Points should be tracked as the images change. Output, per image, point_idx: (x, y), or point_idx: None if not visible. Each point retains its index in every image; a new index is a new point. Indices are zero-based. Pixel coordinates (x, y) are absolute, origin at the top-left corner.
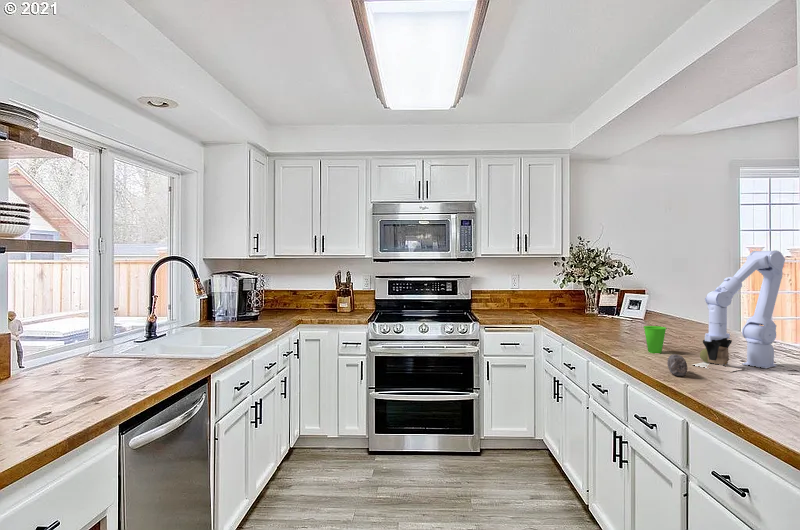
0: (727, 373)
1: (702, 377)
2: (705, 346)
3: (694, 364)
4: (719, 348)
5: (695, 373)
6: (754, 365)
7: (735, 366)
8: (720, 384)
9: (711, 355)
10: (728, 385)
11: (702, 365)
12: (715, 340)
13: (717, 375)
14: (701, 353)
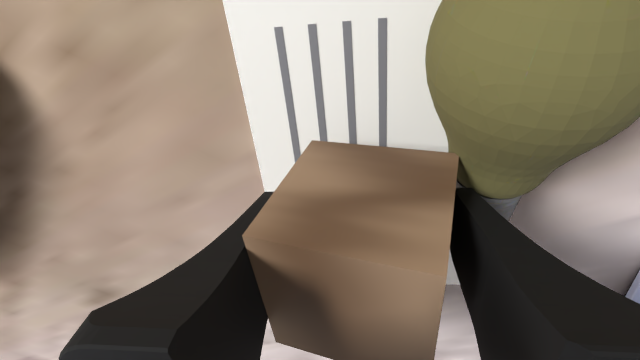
0: None
1: (16, 248)
2: (158, 282)
3: (277, 2)
4: (361, 330)
5: (37, 186)
6: (633, 299)
7: (543, 219)
8: (20, 326)
9: None
10: (43, 343)
11: (307, 76)
12: (554, 355)
13: (138, 265)
14: (456, 4)
